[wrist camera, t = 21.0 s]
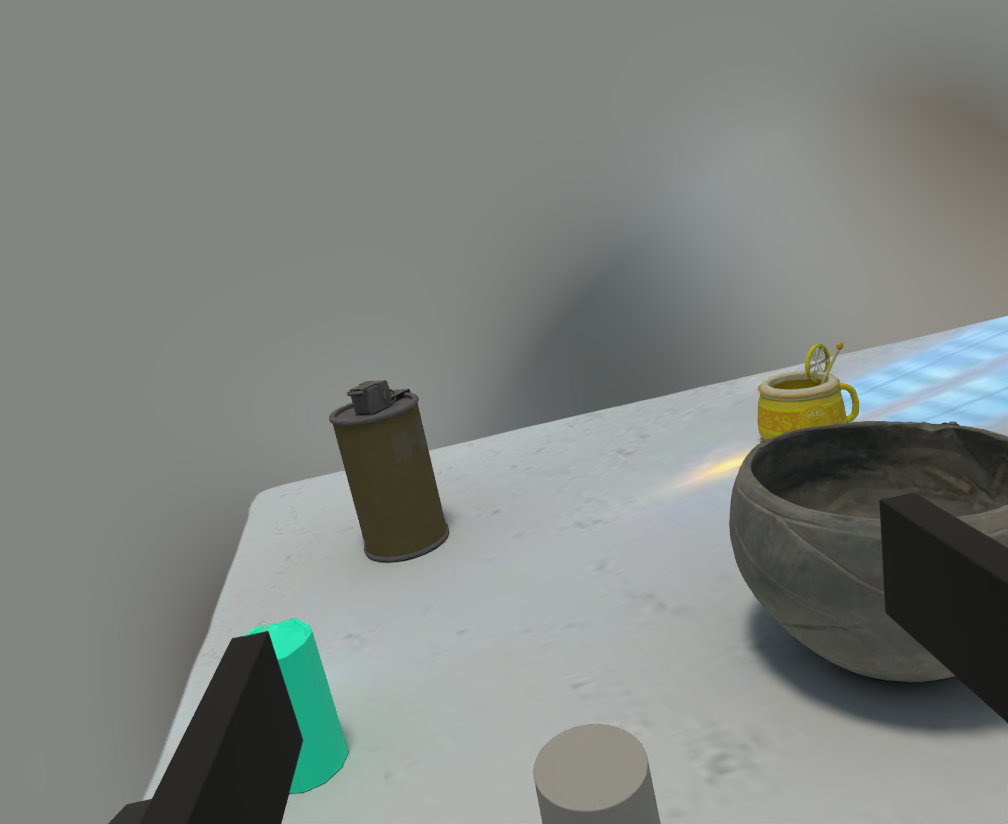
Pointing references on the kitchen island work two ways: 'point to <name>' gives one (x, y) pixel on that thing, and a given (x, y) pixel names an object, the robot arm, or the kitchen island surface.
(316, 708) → the candle
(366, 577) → the kitchen island surface
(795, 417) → the mug
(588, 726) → the container
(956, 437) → the bowl
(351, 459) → the canister
